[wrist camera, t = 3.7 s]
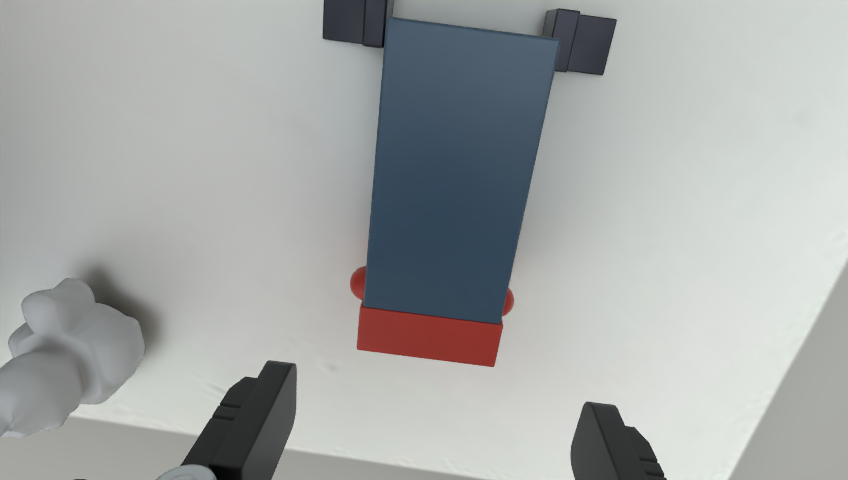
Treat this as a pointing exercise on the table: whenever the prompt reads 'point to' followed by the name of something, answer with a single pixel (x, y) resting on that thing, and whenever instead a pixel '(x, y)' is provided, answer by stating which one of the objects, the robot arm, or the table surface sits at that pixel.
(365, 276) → the container
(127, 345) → the rubber duck
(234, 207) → the table surface
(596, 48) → the pivot clip
